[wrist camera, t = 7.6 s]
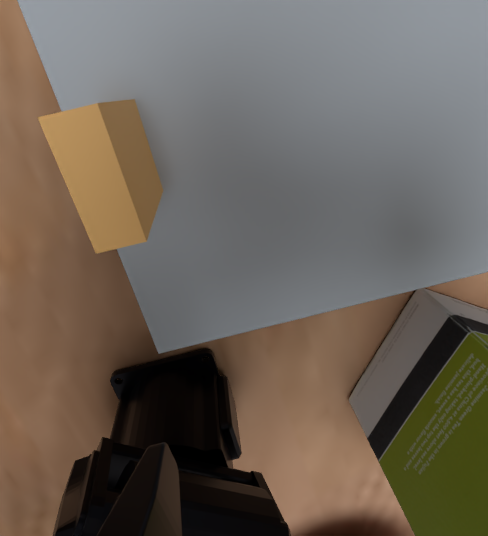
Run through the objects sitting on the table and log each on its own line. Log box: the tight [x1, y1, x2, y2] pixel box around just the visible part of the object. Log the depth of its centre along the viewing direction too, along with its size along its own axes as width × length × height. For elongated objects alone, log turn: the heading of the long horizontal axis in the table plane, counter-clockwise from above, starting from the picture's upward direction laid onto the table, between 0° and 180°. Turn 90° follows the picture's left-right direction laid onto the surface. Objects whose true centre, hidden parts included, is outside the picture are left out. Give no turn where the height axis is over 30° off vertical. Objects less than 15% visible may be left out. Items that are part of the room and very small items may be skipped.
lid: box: [17, 0, 488, 354], centre depth 11 cm, size 16×16×6 cm
